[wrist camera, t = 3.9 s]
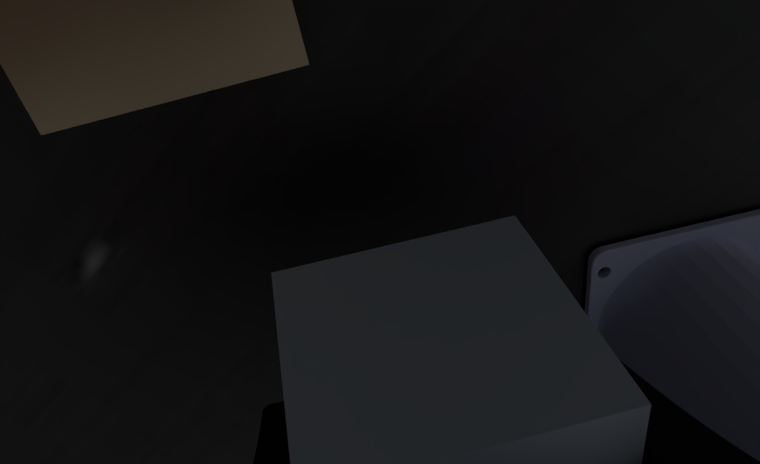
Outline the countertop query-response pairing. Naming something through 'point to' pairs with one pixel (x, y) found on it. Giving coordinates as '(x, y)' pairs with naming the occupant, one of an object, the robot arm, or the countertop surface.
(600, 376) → the blue-grey cube
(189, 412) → the countertop surface
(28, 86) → the oak block
